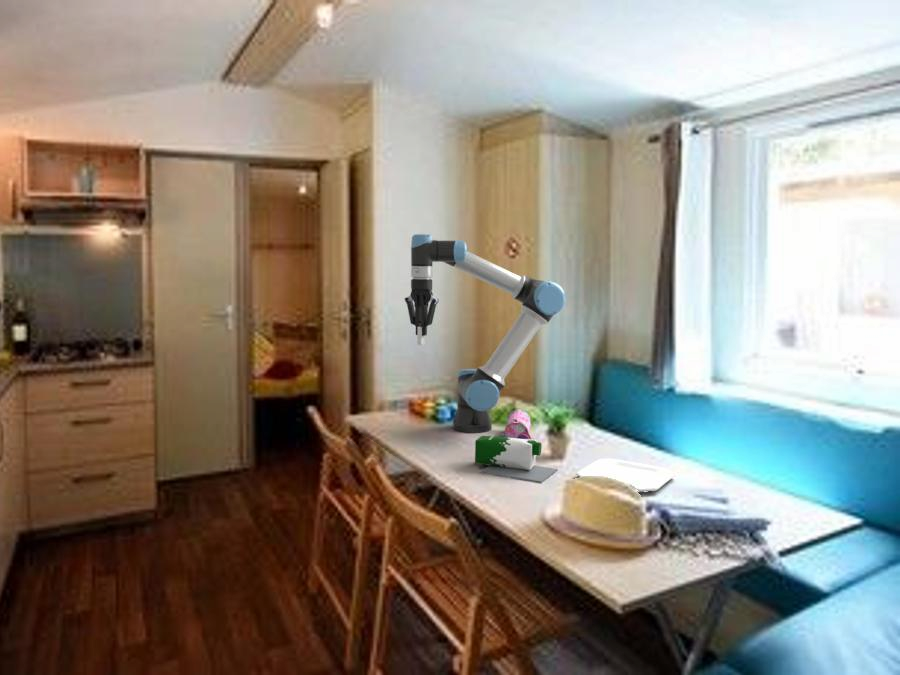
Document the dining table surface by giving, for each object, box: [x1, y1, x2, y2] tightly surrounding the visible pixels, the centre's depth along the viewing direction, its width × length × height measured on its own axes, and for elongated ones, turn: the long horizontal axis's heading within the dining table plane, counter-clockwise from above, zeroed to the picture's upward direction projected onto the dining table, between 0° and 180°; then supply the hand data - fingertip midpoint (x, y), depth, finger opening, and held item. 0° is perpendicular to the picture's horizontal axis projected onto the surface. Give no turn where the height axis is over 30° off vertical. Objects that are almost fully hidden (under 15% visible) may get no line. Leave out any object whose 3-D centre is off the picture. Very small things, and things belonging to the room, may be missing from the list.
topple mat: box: [479, 464, 559, 484], centre depth 218 cm, size 20×14×1 cm
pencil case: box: [504, 408, 532, 438], centre depth 258 cm, size 21×9×9 cm, turn 171°
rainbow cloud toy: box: [517, 432, 533, 440], centre depth 237 cm, size 8×10×7 cm
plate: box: [575, 458, 676, 493], centre depth 212 cm, size 25×25×2 cm
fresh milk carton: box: [474, 435, 543, 470], centre depth 221 cm, size 9×9×20 cm
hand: (421, 344), depth 251 cm, fingers closed
